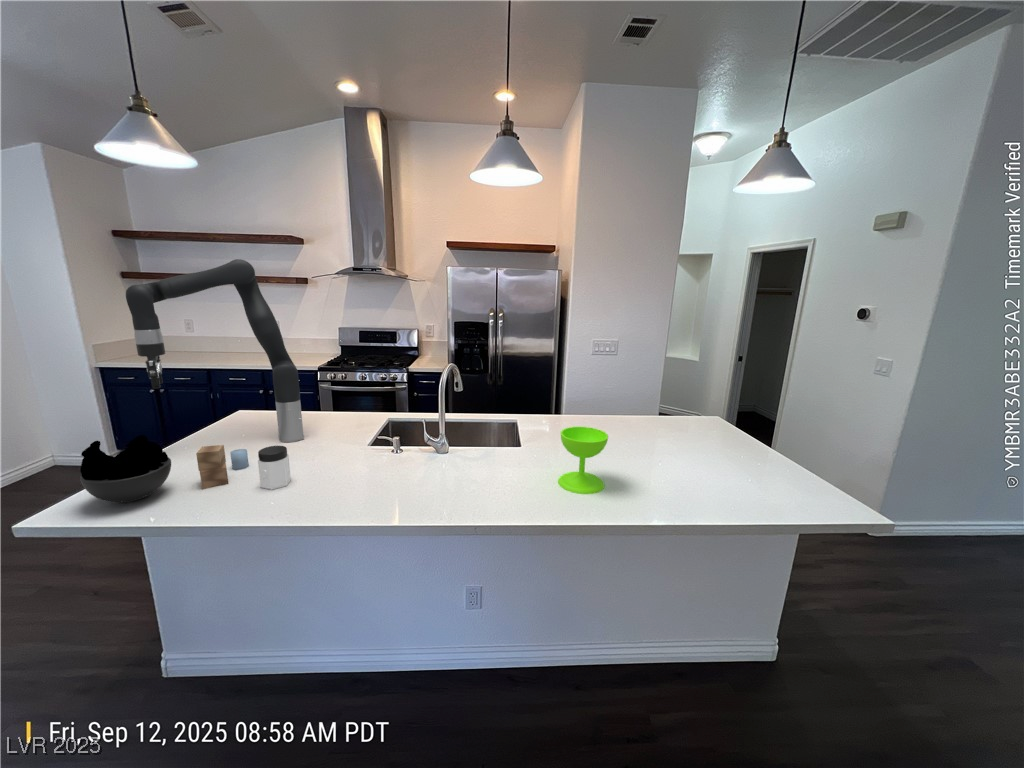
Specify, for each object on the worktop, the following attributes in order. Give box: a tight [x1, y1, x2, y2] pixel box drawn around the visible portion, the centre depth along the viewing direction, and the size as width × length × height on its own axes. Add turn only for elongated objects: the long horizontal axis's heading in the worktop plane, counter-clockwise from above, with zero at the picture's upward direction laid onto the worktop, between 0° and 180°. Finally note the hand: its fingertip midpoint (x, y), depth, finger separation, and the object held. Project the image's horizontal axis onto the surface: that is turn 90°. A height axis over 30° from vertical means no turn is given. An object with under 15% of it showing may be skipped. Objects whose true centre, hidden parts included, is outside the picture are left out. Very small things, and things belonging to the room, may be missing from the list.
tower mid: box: [196, 444, 227, 472], centre depth 135 cm, size 6×6×6 cm
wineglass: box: [557, 426, 609, 495], centre depth 141 cm, size 16×16×18 cm
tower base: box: [199, 461, 229, 490], centre depth 136 cm, size 7×7×6 cm
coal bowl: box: [79, 434, 172, 504], centre depth 123 cm, size 20×20×19 cm
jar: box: [257, 445, 292, 491], centre depth 135 cm, size 9×8×12 cm
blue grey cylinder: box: [230, 448, 250, 471], centre depth 148 cm, size 5×5×6 cm
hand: (157, 386), depth 151 cm, fingers open, 8 cm apart
